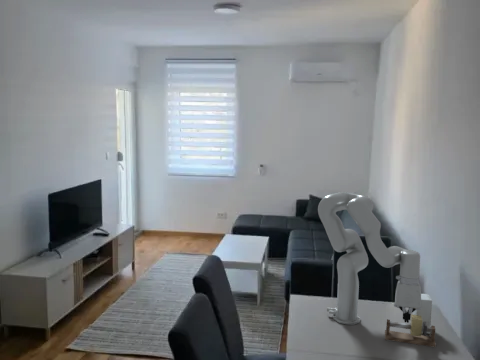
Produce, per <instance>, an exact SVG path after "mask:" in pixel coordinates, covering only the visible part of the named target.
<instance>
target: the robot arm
mask: <svg viewBox="0 0 480 360" xmlns="http://www.w3.org/2000/svg"><path fill="white" fill-rule="evenodd" d="M374 207H375V205H374V202H373V201H372V199H371V198H370V197H368V196H365V195H361V194H356V193H352V192H348V191H347V192H345V191H342V192H341V191H340V192H336V193H331V194H328V195H326V196H324V197H322V199H321V200H320V202H319V203H318V206H317V214H318V217H319V219H320V221H321V223H322V225H323V227H324V229H325V233H326V235H327V237H328V240H329V242H330V244H331V247H332V249H333V250H334V251H335V252H337V253H342V252H346V253H345V254H343V255H341V256H340V257H339V258H338V259H337V263H336V269H337V292H336V293H337V297H336V298H337V299H336V307H329V306H327V307H326V312H328V313H329V314H332V318H333V320H334V321H335V322H337V323H339V324H343V325H347V326H348V325H351V326H353V325H356V324H359V323H360V322H361V317H360V315H359V314H358V309H359V308H358V307H359V306H358V305H359V292H360V291H359V290H360V289H359V288H360V287H359V286H360V281H359V276H358V275H359V274H358V273H359V272H360V271H363V270H364V269H365V268H367V266H369V257H368V253H367V251H366V248H365V245H364V244H363V242H362V239H361V237H360V235H359V233H358V232H357V231H356V230H355V229H352V228H345V227H344V224H343V221H342V220H341V218H340V217H339V216H338V215H337V212H340V211H344V210H346V211H347V212H348V214H349V216H350V217H351V218H352V219H353V221H354V222H355V224H356V225H357V226H358V227H359V229H360V230H361V232H362V233H363V234H364V237H365V242H366V246H367V249H368V250H369V253H370V254H371V255H372V257H373V259H374V260H376V262H377V263H378V264H379V265H380V266H382V267H383V268H387V269H388V268H393V267H394V266H396V265H400V266H399V268H400V269H399V275H395V279H396V280H398V281H397V283H396V288H395V295H394V303H393V307H394V308H398V309H399V310H400V311H401V312H402V320H404V322H403V323H406V324H410V323H409V322H410V321H411V314H412V315H413V312H414V311H415V310H421V294H422V289H421V288H422V287H421V283H419V279H420V266H421V255H420V253H419V252H418V251H416V250H411V249H406V248H403V247H401V246H397V245H393V246H392V245H391V246H389V247H387V246H386V244H385V243H384V242H383V241H382V238H381V226H382V224H381V221H380V220H379V219H378V218H377V217H376V215H375V214H374V212H373V210H374ZM407 308H408V310H407Z"/></svg>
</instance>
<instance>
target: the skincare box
mask: <svg viewBox="0 0 480 360" xmlns="http://www.w3.org/2000/svg"><path fill="white" fill-rule="evenodd" d="M432 305H433V299H432V298H431V296H430V295H429V293H421V310H415V311H414V312H412V315H419V316H421V318H422V326H423V321H424V322H426V324H427V327H431V326H432V324H431V323H432ZM421 334H423V331H421ZM426 335H431V332H427V333H426Z"/></svg>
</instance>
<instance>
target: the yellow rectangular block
mask: <svg viewBox="0 0 480 360" xmlns="http://www.w3.org/2000/svg"><path fill="white" fill-rule="evenodd" d="M409 322H410V323H409V324H411V329H409V332H410V333H409V334H411V335H414V336H421V335H422V333H421V330H422V318H421V316H419V315H413V313H412V314H411V318H410V321H409Z"/></svg>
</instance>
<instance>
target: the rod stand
mask: <svg viewBox="0 0 480 360" xmlns="http://www.w3.org/2000/svg"><path fill="white" fill-rule="evenodd" d="M391 327H392V328H399V329H405V330H410V329H411V324H410V323H406V322H398V321H391V319H386V327H385V330H384V340H385V341H392V342H397V343H398V342H400V343H406V344H413V345H418V346H426V347H432V348H436V345H437V344H436V339H435V338H436V337H435V336H436V326H435V325H431V327H427V324H426V322H424V321H423V326H422V330H421V331H423V333H422V334H421V336H414V335H411V333H408V332H403V331H402V332H401V331H394V330H390V329H391ZM427 332H430V336H429V335H427V334H426V333H427Z"/></svg>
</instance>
